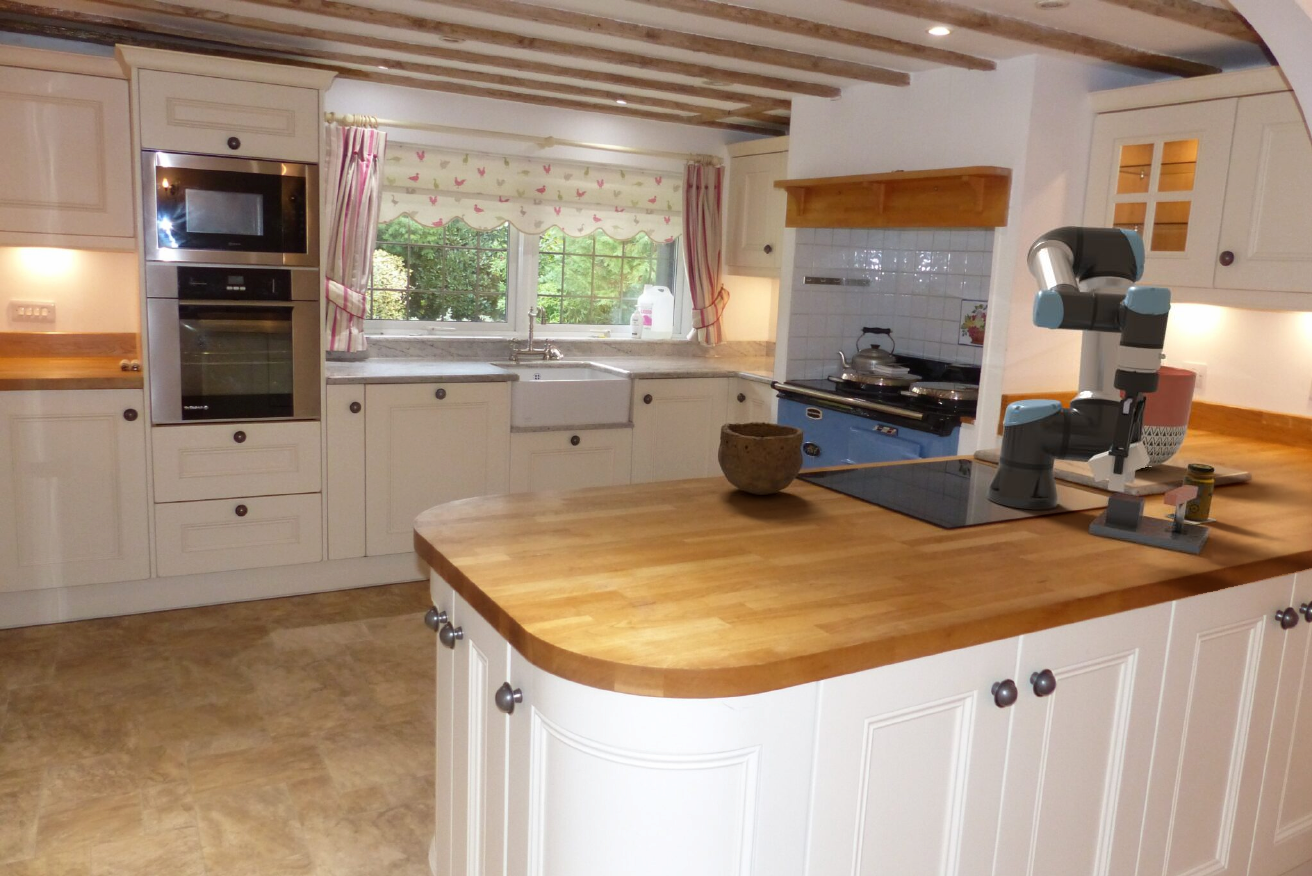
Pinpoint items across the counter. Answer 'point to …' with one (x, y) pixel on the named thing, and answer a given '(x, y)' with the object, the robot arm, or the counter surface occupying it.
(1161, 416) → the planter
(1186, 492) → the t key
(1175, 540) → the latch plate
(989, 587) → the counter surface
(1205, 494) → the condiment
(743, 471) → the bowl
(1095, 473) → the cover
